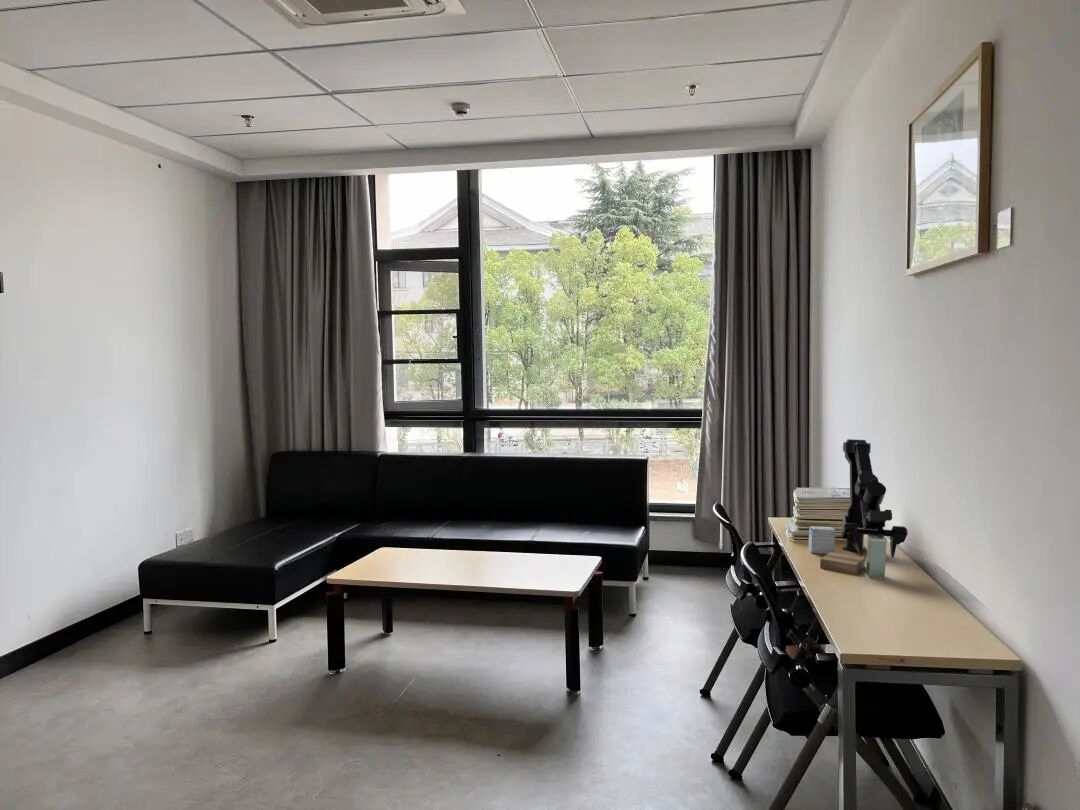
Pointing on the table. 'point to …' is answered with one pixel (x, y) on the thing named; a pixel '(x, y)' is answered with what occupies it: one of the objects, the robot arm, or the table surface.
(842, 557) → the plinth
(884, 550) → the tea tin
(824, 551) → the medicine box
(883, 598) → the table surface
